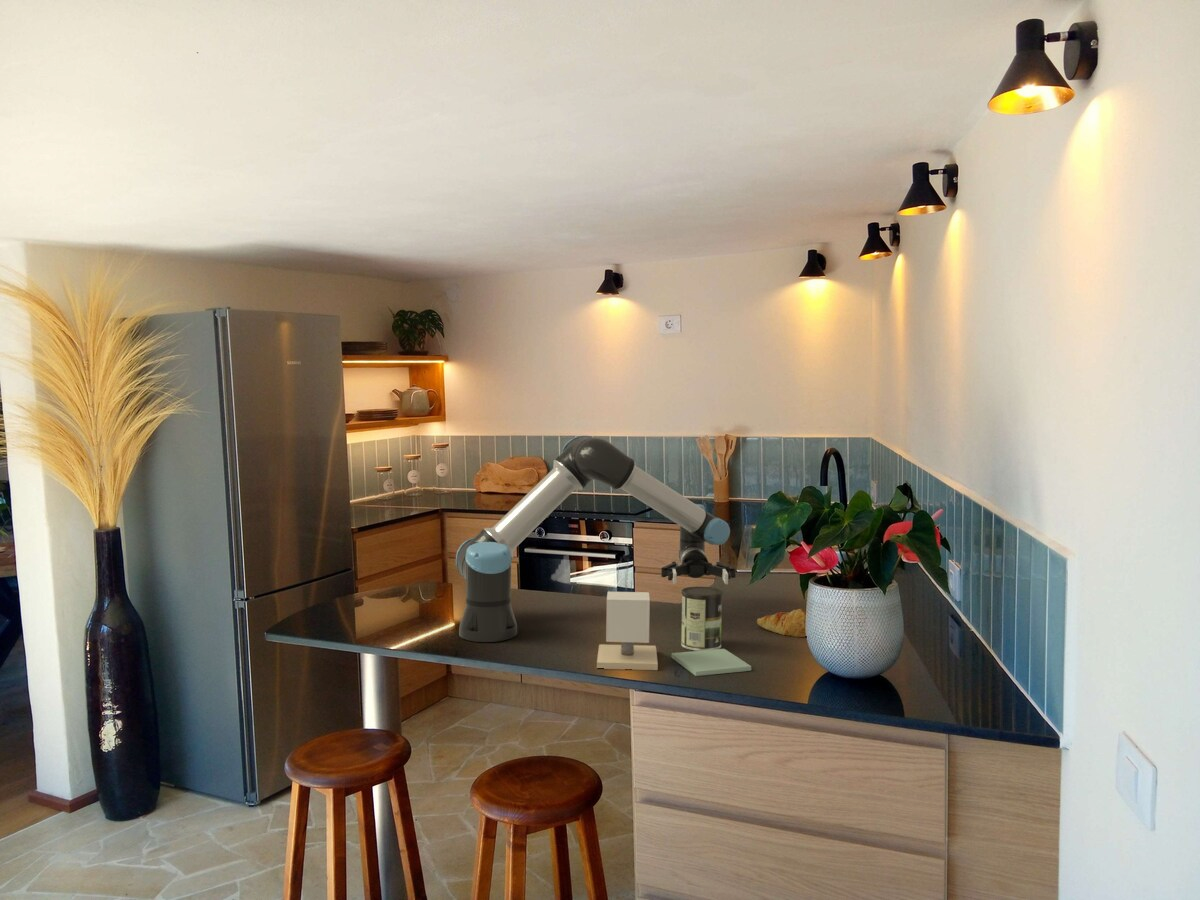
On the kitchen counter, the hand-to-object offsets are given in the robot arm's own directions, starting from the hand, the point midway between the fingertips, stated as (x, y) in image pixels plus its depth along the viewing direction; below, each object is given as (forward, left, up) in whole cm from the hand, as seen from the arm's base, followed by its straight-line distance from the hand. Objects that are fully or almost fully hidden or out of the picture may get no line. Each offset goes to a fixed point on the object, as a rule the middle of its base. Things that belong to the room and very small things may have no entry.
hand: (700, 579), depth 219 cm
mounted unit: (-26, -15, -15) cm, 33 cm away
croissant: (+26, -5, -15) cm, 30 cm away
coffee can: (-4, -9, -15) cm, 18 cm away
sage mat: (-8, -23, -15) cm, 29 cm away
